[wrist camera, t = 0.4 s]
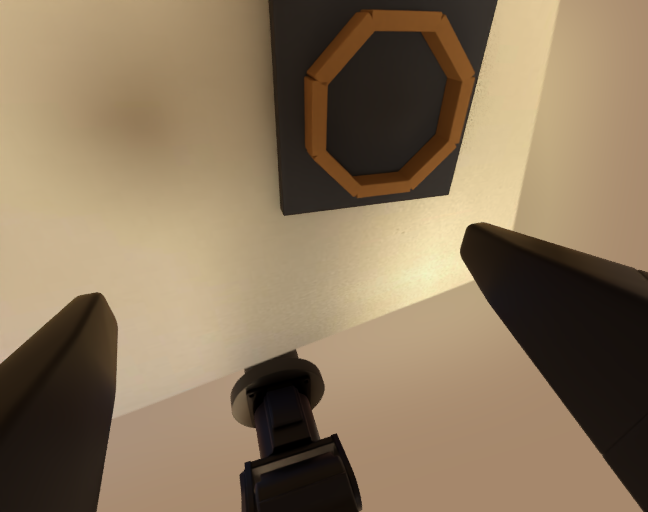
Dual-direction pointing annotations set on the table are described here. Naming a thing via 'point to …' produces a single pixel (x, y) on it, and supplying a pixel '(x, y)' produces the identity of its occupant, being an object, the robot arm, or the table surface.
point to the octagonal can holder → (372, 97)
